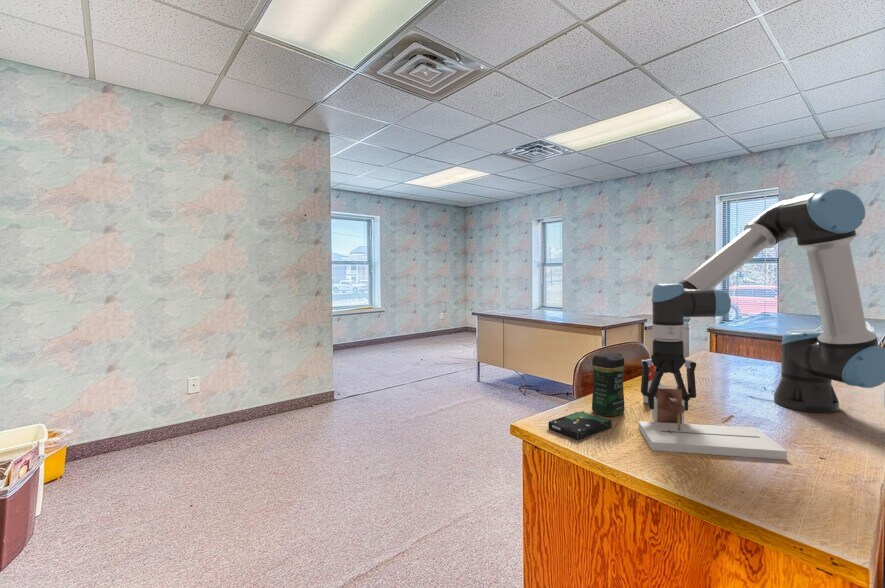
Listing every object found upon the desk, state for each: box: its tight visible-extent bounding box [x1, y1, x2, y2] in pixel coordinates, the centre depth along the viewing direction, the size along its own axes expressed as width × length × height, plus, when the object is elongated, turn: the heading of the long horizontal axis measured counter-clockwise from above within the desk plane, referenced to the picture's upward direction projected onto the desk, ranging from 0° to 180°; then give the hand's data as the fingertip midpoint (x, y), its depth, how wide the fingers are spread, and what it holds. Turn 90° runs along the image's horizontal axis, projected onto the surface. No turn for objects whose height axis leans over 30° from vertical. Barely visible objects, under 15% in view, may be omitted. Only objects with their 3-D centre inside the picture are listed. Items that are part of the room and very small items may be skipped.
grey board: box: [638, 420, 788, 461], centre depth 101 cm, size 28×14×2 cm, turn 76°
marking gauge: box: [655, 384, 685, 431], centre depth 108 cm, size 6×14×11 cm, turn 166°
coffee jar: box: [591, 351, 626, 417], centre depth 124 cm, size 10×8×19 cm
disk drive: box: [548, 410, 612, 442], centre depth 113 cm, size 10×3×15 cm
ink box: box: [642, 364, 662, 405], centre depth 134 cm, size 3×9×12 cm, turn 128°
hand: (667, 420), depth 112 cm, fingers closed on marking gauge, 6 cm apart
